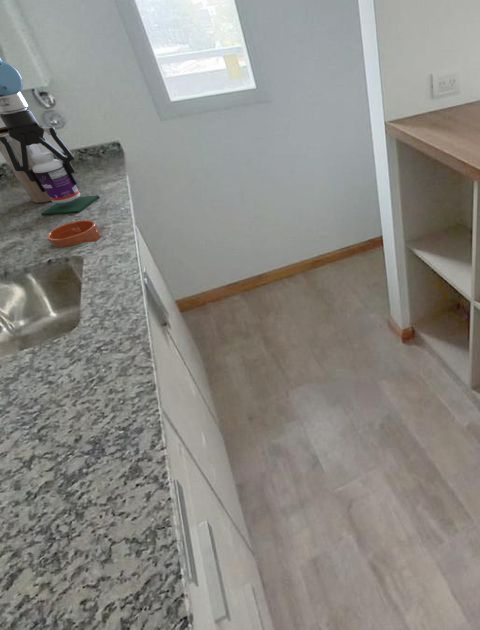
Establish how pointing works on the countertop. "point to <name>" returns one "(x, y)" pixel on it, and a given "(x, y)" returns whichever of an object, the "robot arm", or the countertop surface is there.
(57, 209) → the mat
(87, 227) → the bowl
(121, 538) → the countertop surface
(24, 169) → the robot arm
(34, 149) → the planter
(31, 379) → the countertop surface
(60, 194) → the pill bottle
